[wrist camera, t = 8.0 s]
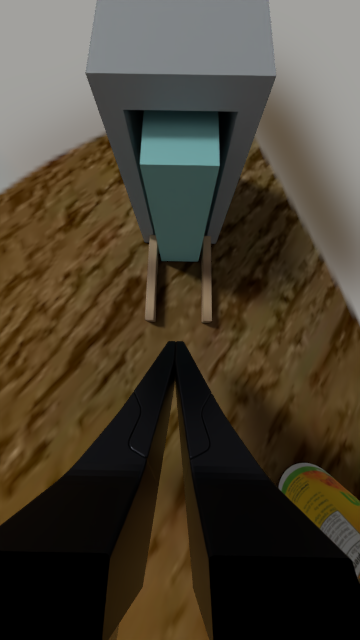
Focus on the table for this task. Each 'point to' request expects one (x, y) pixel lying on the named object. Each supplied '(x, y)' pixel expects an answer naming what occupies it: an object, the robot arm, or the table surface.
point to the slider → (180, 177)
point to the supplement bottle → (325, 506)
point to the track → (152, 280)
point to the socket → (181, 81)
